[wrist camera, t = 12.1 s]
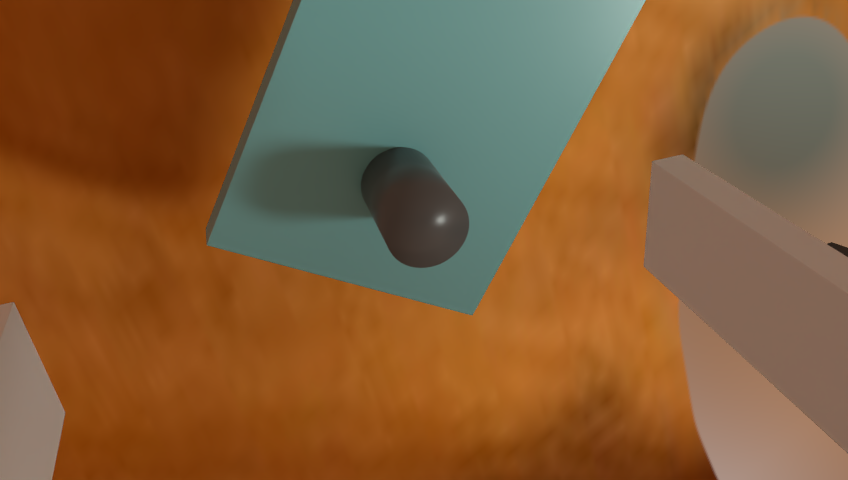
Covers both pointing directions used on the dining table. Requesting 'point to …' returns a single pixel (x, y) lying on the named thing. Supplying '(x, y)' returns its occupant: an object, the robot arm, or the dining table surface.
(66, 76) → the dining table surface
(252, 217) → the lid
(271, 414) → the dining table surface
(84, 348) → the dining table surface
